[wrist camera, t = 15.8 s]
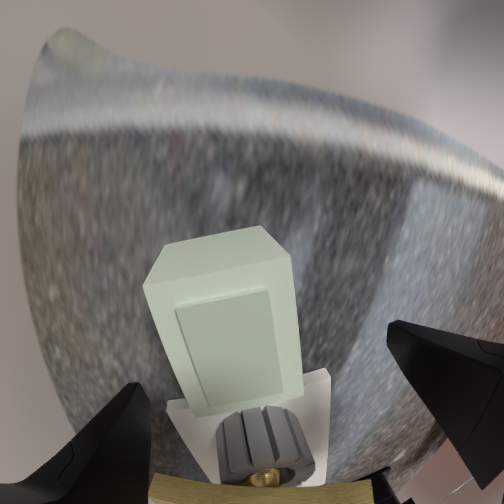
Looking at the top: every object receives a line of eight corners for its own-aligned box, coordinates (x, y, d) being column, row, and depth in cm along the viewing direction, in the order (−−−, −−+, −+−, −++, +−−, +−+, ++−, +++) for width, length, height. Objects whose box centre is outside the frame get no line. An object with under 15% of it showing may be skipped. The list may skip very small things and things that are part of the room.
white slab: (322, 477, 21) (336, 512, 16) (228, 498, 20) (234, 535, 15) (324, 367, 16) (358, 423, 11) (167, 400, 15) (161, 464, 10)
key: (360, 418, 14) (374, 504, 8) (354, 433, 15) (364, 512, 9) (174, 416, 16) (146, 496, 10) (181, 431, 16) (158, 505, 10)
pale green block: (276, 333, 15) (306, 399, 10) (195, 349, 14) (195, 422, 9) (260, 225, 13) (292, 258, 8) (165, 244, 13) (140, 289, 8)
